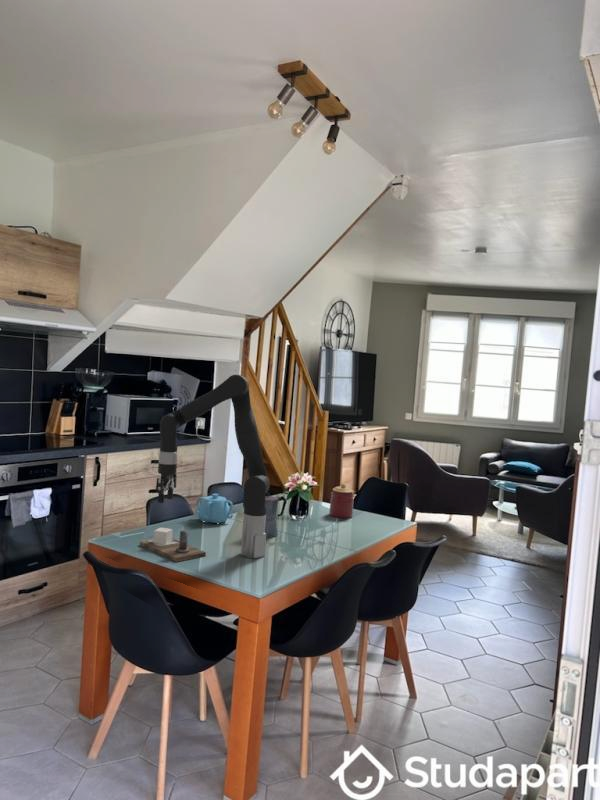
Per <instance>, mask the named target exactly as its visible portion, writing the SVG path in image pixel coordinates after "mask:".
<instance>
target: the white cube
mask: <svg viewBox="0 0 600 800" xmlns="http://www.w3.org/2000/svg"><path fill="white" fill-rule="evenodd" d="M153 531H154V532H153V539H154V542H153V543H160V544H168V543H169V542H171V541H172V538H173V531H174V529H172V528H167V527H158V528H157V529H155V530H153Z"/></svg>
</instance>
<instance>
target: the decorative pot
mask: <svg viewBox="0 0 600 800" xmlns="http://www.w3.org/2000/svg"><path fill="white" fill-rule="evenodd" d="M200 500H202V501H201V503H200ZM229 504H230V506H229ZM196 506H197V508H195V511H194V512H195V513H196V515H197V516H198V519H199V520H200V521H205V522H206V523H224V522H226V521H227V520H228V519H232V518H233V517H234V514H233V512H232V510H233V507H234V505H233V502H232V501H231V500H227V498H226V497H225V496H222V495H221V496H220V495H219V493H212V494H211V495H208V496H205V497H204V496H200V497H198V498H197V500H196Z"/></svg>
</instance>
